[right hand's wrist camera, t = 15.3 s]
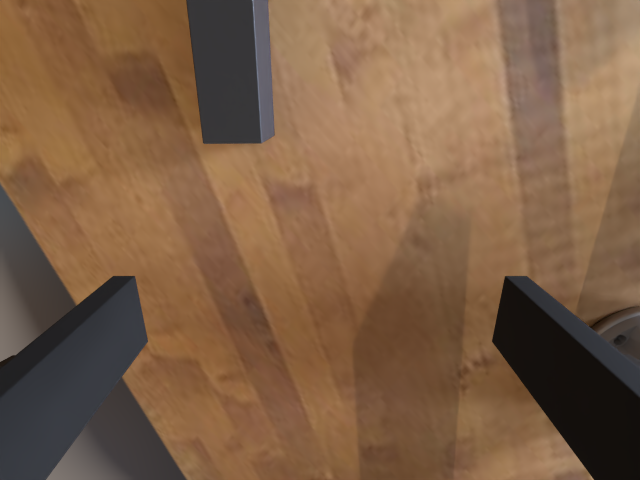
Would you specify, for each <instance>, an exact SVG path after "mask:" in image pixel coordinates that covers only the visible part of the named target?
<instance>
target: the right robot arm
mask: <svg viewBox="0 0 640 480" xmlns="http://www.w3.org/2000/svg"><path fill="white" fill-rule="evenodd" d="M147 342H148V339H147V334H146V329H145V324H144V319H143V314H142V309H141V304H140V299H139V294H138V289H137V284H136V279H135V276H113V277H112V278H110V279H109V280H108V281H107V282H105V283H104V284H103V285H102V286H101V287H99V288H98V289H97V290H96V291H94V292H93V293H92V294H91V295H89V296H88V297H87V298H86V299H84V300H83V301H82V302H81V303H80V304H78V305H77V306H76V307H75V308H73V309H72V310H71V311H70V312H69V313H67V314H66V315H65V316H64V317H62V318H61V319H60V320H59V321H57V322H56V323H55V324H54V325H52V326H51V327H50V328H49V329H48V330H46V331H45V332H44V333H43V334H41V335H40V336H39V337H38V338H36V339H35V340H34V341H33V342H31V343H30V344H29V345H28V346H27V347H25V348H24V349H23V350H22V351H20V352H19V353H18V354H17V355H13V356H11V357H9V358H7V359H5V360H3V361H1V362H0V480H46V479H47V477H48V476H49V475H50V473H51V472H52V470H53V469H54V468H55V466H56V465H57V464H58V462H59V461H60V460H61V458H62V457H63V456H64V454H65V453H66V452H67V450H68V449H69V448H70V446H71V445H72V444H73V442H74V441H75V439H76V438H77V437H78V435H79V434H80V433H81V431H82V430H83V429H84V427H85V426H86V424H87V423H88V422H89V420H90V419H91V418H92V416H93V415H94V414H95V412H96V411H97V410H98V408H99V407H100V406H101V404H102V403H103V402H104V400H105V399H106V397H107V396H108V395H109V393H110V392H111V391H112V389H113V388H114V387H115V385H116V384H117V383H118V381H119V380H120V379H121V377H122V376H123V374H124V373H125V372H126V370H127V369H128V368H129V366H130V365H131V364H132V362H133V361H134V360H135V358H136V357H137V356H138V354H139V353H140V351H141V350H142V349H143V347H144V346H145V345H146V343H147ZM492 342H493V343H494V345H495V346H496V347H497V349H498V350H499V351H500V353H501V354H502V356H503V357H504V358H505V360H506V361H507V362H508V364H509V365H510V366H511V368H512V369H513V370H514V372H515V373H516V374H517V376H518V377H519V379H520V380H521V381H522V383H523V384H524V385H525V387H526V388H527V389H528V391H529V392H530V393H531V395H532V396H533V397H534V399H535V400H536V402H537V403H538V404H539V406H540V407H541V408H542V410H543V411H544V412H545V414H546V415H547V416H548V418H549V419H550V421H551V422H552V423H553V425H554V426H555V427H556V429H557V430H558V431H559V433H560V434H561V435H562V437H563V438H564V439H565V441H566V442H567V444H568V445H569V446H570V448H571V449H572V450H573V452H574V453H575V454H576V456H577V457H578V458H579V460H580V461H581V462H582V464H583V465H584V467H585V468H586V469H587V471H588V472H589V473H590V475H591V476H592V477H593V479H594V480H640V306H638V307H633V308H629V309H625V310H622V311H620V312H617V313H615V314H612V315H610V316H608V317H607V318H605V319H603V320H601V321H600V322H598V323H597V324H596V325H594V326H593V327H592V328H590V327H589V326H588V325H586V324H585V323H584V322H583V321H581V320H580V319H579V318H578V317H576V316H575V315H574V314H573V313H572V312H570V311H569V310H568V309H567V308H565V307H564V306H563V305H562V304H560V303H559V302H558V301H557V300H556V299H554V298H553V297H552V296H551V295H549V294H548V293H547V292H546V291H544V290H543V289H542V288H541V287H539V286H538V285H537V284H536V283H535V282H533V281H532V280H531V279H530V278H528V277H527V276H505V279H504V284H503V289H502V294H501V299H500V304H499V309H498V314H497V319H496V324H495V329H494V334H493V339H492Z"/></svg>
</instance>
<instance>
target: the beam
mask: <svg viewBox="0 0 640 480" xmlns="http://www.w3.org/2000/svg"><path fill="white" fill-rule="evenodd" d="M186 1H187V10H188V18H189V27H190V35H191V44H192V52H193V61H194V69H195V78H196V86H197V95H198V103H199V112H200V120H201V129H202V138H203V143H204V144H246V143H263V142H264V141H266V140H268V139H269V138H271V137H273V136H274V115H273V95H272V74H271V54H270V34H269V13H268V0H186Z"/></svg>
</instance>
